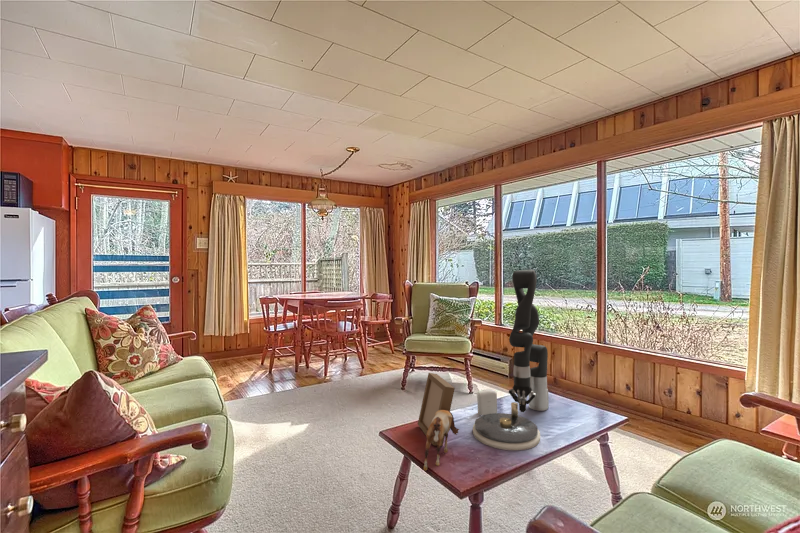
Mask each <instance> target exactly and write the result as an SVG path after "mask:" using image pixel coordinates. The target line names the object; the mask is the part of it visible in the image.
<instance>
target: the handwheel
mask: <svg viewBox="0 0 800 533" xmlns="http://www.w3.org/2000/svg"><path fill="white" fill-rule="evenodd" d="M510 410H511V411H510V413H505V412H502V413H501V412H500V413H499V412H497V413H493V414H486V415H480V416H479V417H477V418H476V419H475V421H474V423H475V429H476V431H477V432H478V433H479V434H481V435H482V436H484V437H486V438H488V439H491V440H494V441H498V442H504V443H523V442H528V441H531V440H533V439H534V438H536V437H537V435H538V430H539V429H538V425H536V423H535V422H533V421H532V420H530V419H529V418H526V417H524V416H521V415H519V403H518V402H515V401H514V402H511V403H510Z"/></svg>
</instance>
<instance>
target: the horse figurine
mask: <svg viewBox="0 0 800 533" xmlns="http://www.w3.org/2000/svg"><path fill="white" fill-rule="evenodd" d="M449 429H450V430H451V431H452V434H454V435H455V436H457V435H458V434H459V430H460V428H457V427H456V425H455V418H454V415H453V413H452V412H451V410H450V411H446V410H439V411H437V412H436V413H435V417H434V418H433V420H432V422H431V424H430V426H429V429H428V431H427V435H425V436H426V443H425V450H424V465H423V471H427V470H428V456H429V451H430V448H431V445H432V442H434V441H435V442H437V446H436V462H435V466H437V467H439V466H440V451H441V447H443V446H442V442H441V441H442V439H443V434H444V433H445V437H444V448H443V453H444V454H447V453H448V438H449V437H448V436H449V434H448V433H449V431H450V430H449Z"/></svg>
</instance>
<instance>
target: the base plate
mask: <svg viewBox="0 0 800 533" xmlns="http://www.w3.org/2000/svg"><path fill="white" fill-rule="evenodd" d="M472 434H473V437H474V438H475V439H476V440H477V441H478V442H480V443H481V444H484V445H486V446H488V447H491V448H493V449H498V450H504V451H524V450H529V449H532V448H534V447H536V446H538V445H539V444H540V443H541V432H540V430H539V429H538V435H537V437H536V438H534V439H533V440H531V441H528V442H523V443H504V442H498V441H494V440H491V439H488V438H486V437H484V436H482V435H481V434H479V433H478V432H477V431H476V429H475V422H474V424H473V425H472Z"/></svg>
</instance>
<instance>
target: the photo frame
mask: <svg viewBox="0 0 800 533" xmlns="http://www.w3.org/2000/svg"><path fill="white" fill-rule="evenodd" d="M454 394H455V387H454V386H453V385H451V384H450V383H449V382H448V381H447V380H446V379H444V378H443V377H441V376H440V375H439V374H438V373H433V372H428V375H427V378H426V383H425V388H424V393H423V397H422V402H421V406H420V412H419V416H418V420H417V426H419V429H421V431H422V432H423V434H424V435H425V436H426V435H427V431H428V429H429V426H430V424H431V422H432V420H433V418H434V417H435V413H436V412H437V411H439V410H446V411H450V412H451V408H452V405H453V399H454ZM450 430H451V429H449V431H450ZM441 442H442V446H441V447H443V445H444V443H445V433H444V434H443V439H442V441H441ZM431 445H432V446H436V447H437V442H435V441H434V442H432V443H431Z"/></svg>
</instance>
